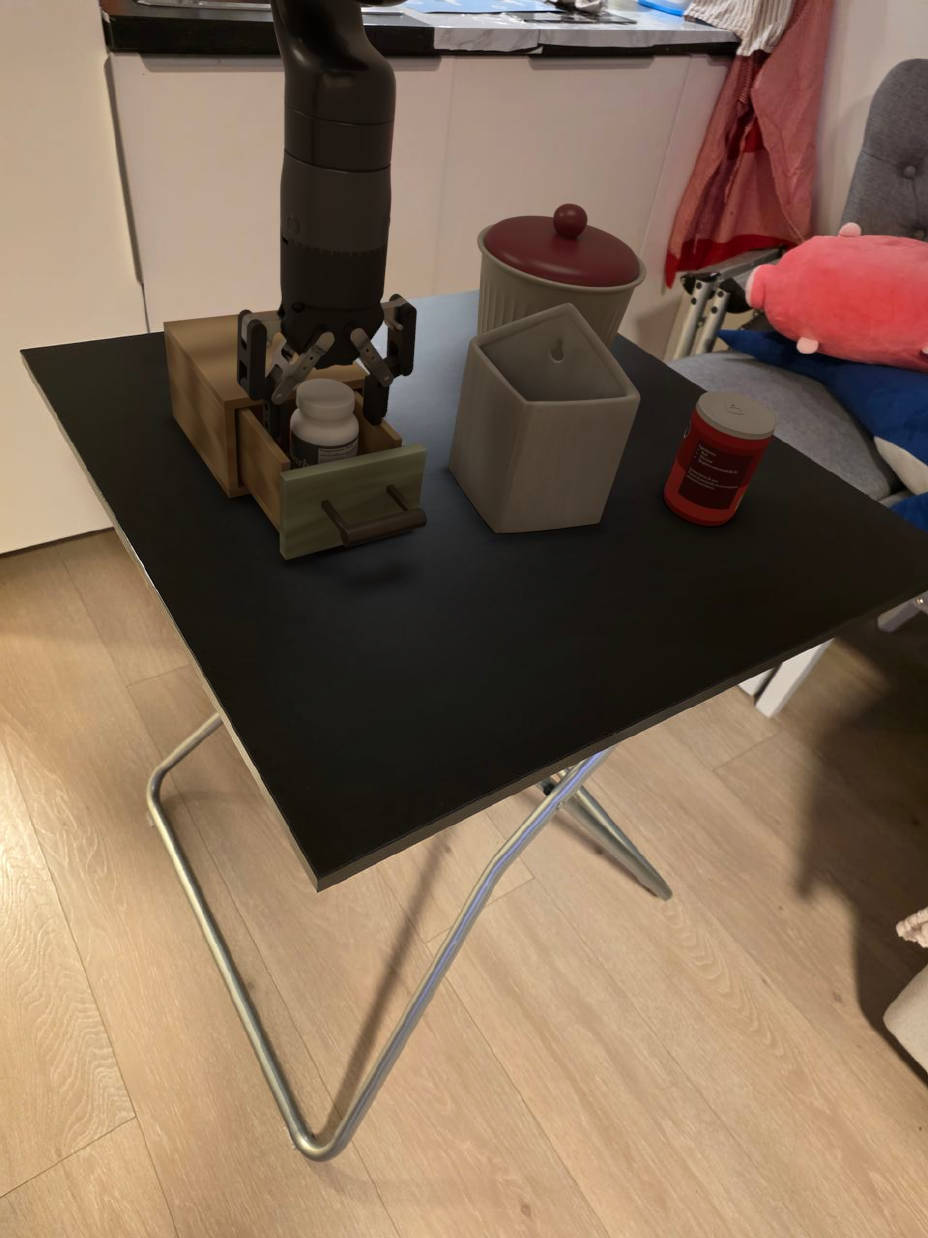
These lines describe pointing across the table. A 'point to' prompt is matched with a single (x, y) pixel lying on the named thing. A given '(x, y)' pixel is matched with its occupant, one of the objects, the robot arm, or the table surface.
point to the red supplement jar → (718, 457)
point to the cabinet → (222, 388)
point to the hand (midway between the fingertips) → (326, 429)
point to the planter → (541, 423)
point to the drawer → (332, 485)
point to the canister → (555, 272)
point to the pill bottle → (323, 424)
